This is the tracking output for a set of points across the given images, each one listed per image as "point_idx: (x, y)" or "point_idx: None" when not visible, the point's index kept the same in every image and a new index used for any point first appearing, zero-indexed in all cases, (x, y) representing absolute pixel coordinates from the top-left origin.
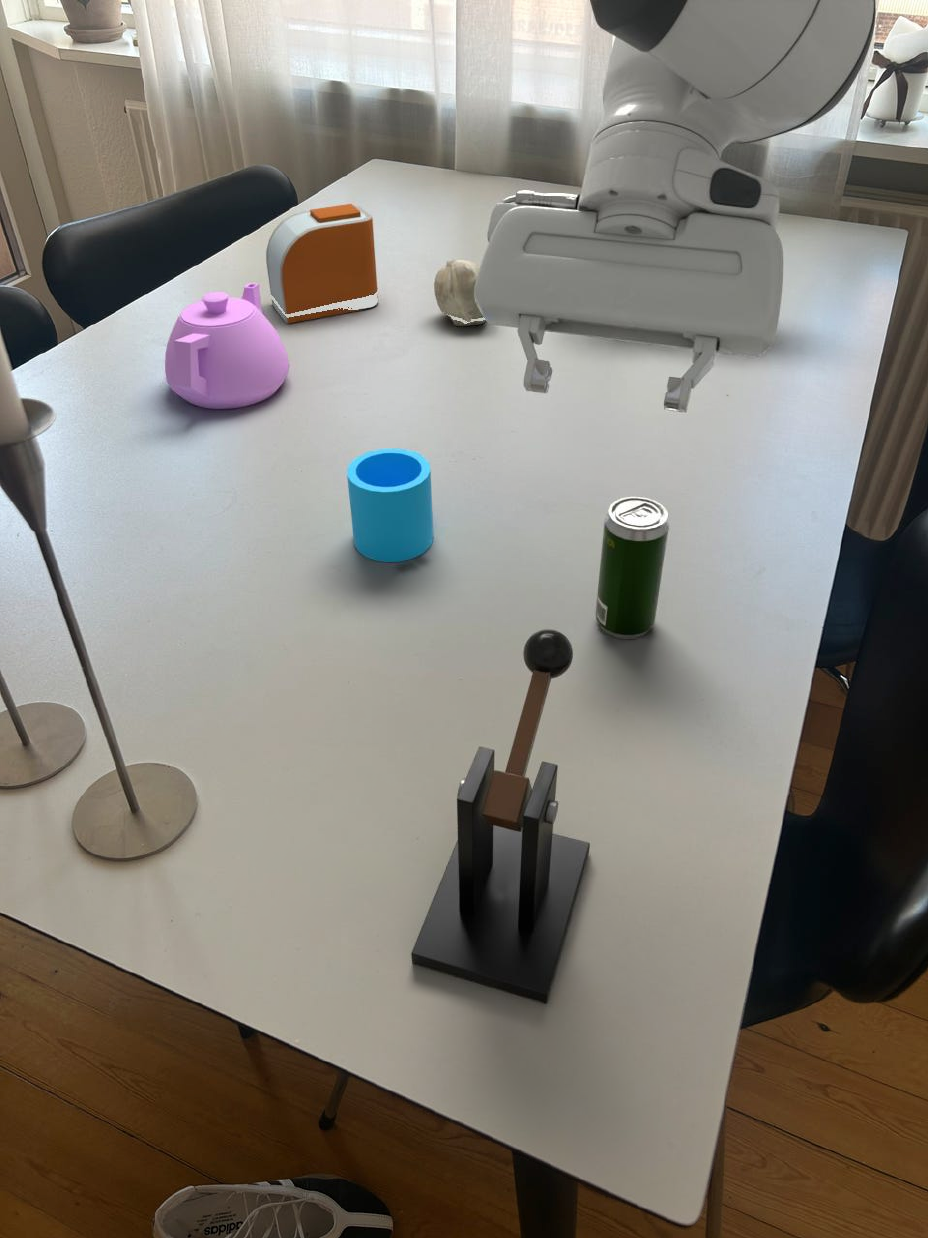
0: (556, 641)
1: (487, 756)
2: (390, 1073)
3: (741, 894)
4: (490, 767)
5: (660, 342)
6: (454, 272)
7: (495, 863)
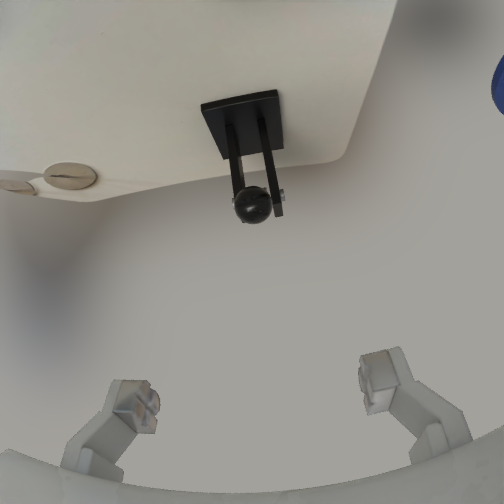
0: (262, 221)
1: None
2: None
3: (363, 80)
4: None
5: (350, 485)
6: None
7: (233, 123)
